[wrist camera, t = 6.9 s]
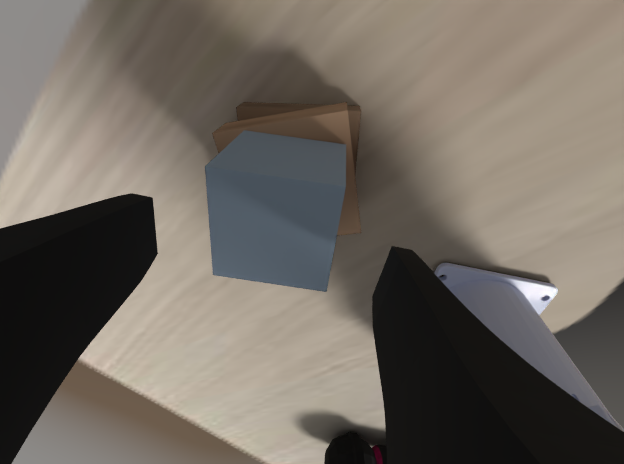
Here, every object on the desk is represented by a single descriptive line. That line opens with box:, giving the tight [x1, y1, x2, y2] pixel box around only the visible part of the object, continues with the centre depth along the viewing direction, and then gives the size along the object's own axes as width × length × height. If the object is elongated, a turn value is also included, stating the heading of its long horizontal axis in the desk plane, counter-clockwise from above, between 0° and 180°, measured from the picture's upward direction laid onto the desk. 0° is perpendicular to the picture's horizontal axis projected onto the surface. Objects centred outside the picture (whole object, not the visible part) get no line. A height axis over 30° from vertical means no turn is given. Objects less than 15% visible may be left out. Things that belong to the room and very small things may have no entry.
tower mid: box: [212, 102, 361, 236], centre depth 16 cm, size 6×6×2 cm
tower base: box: [236, 102, 361, 172], centre depth 18 cm, size 6×6×2 cm
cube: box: [205, 130, 346, 292], centre depth 13 cm, size 4×4×4 cm
